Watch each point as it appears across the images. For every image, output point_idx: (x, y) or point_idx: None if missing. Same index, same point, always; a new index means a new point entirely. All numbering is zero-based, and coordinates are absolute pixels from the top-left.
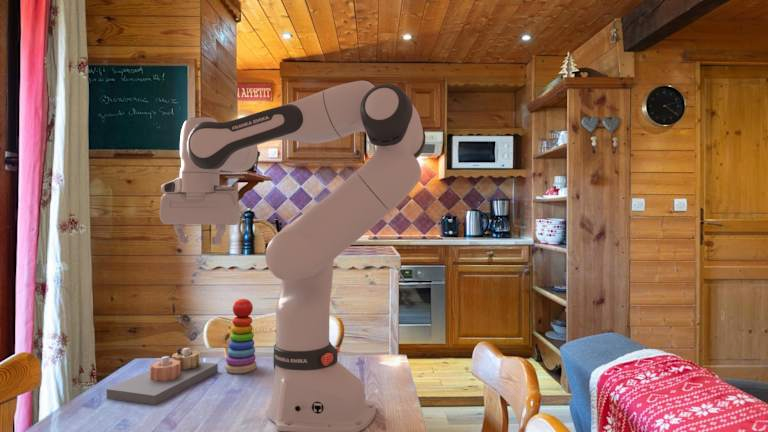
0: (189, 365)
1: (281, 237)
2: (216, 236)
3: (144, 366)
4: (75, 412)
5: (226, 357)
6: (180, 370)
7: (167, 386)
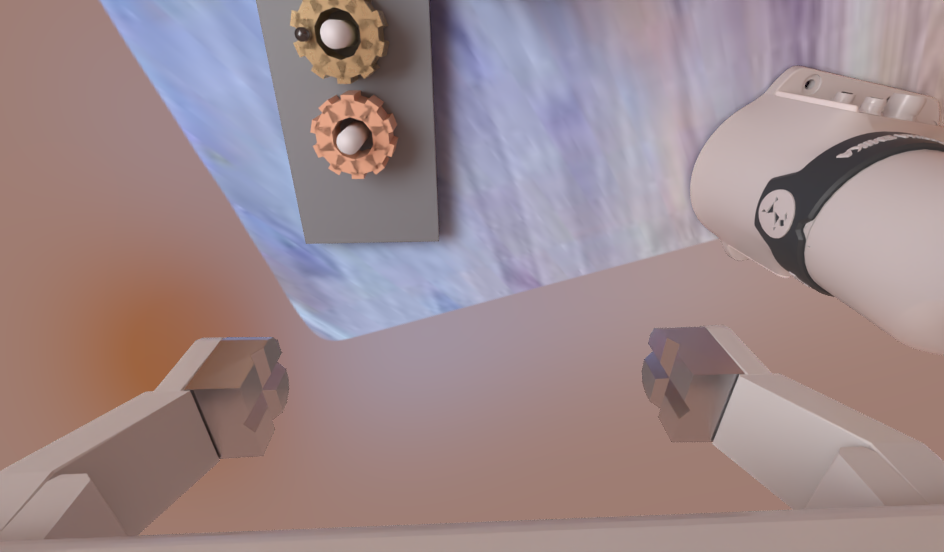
0: (377, 59)
1: None
2: (739, 446)
3: (160, 7)
4: (325, 298)
5: None
6: (382, 103)
7: (424, 191)
